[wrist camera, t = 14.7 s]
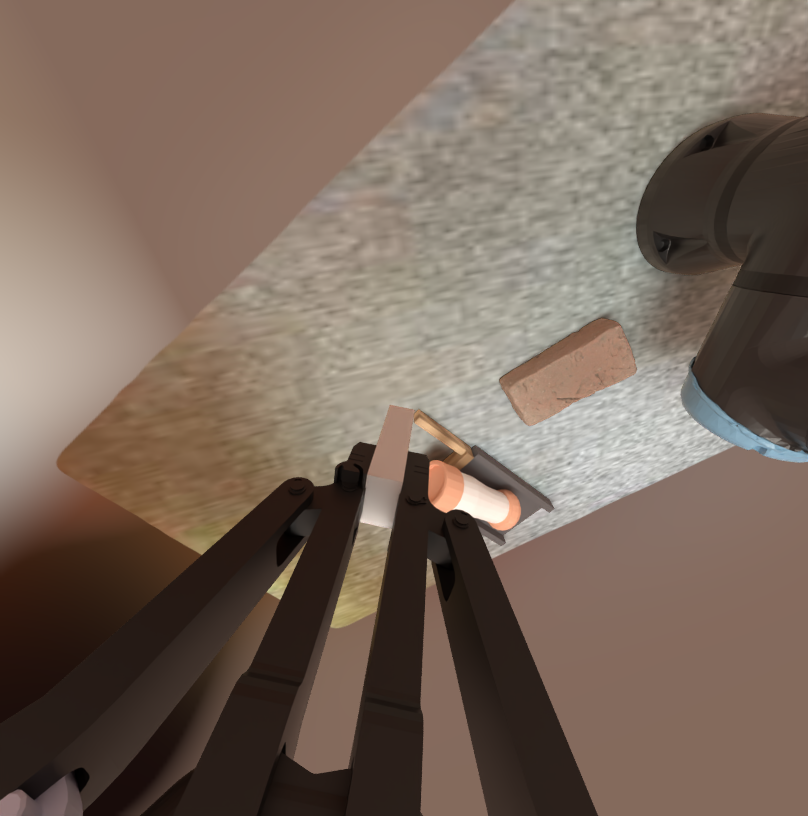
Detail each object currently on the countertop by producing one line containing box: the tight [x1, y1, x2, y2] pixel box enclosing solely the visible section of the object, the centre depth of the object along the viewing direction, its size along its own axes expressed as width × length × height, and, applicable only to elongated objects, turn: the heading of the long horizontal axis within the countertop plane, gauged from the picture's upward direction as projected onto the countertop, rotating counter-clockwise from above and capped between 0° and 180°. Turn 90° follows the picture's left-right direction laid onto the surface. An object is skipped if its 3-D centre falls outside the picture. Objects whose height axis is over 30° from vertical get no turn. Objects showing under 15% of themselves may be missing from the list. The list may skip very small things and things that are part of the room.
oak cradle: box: [414, 409, 474, 471], centre depth 53 cm, size 12×11×3 cm
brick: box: [499, 318, 637, 426], centre depth 45 cm, size 17×8×5 cm, turn 125°
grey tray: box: [446, 445, 554, 546], centre depth 58 cm, size 20×13×2 cm, turn 50°
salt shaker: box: [428, 460, 521, 531], centre depth 52 cm, size 7×7×19 cm
